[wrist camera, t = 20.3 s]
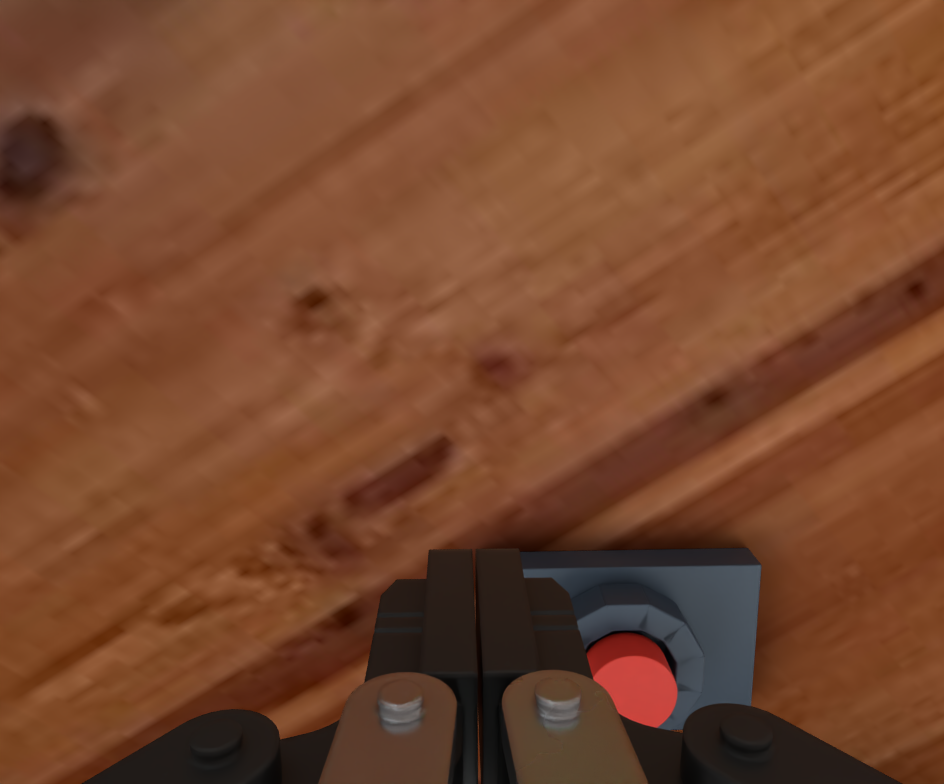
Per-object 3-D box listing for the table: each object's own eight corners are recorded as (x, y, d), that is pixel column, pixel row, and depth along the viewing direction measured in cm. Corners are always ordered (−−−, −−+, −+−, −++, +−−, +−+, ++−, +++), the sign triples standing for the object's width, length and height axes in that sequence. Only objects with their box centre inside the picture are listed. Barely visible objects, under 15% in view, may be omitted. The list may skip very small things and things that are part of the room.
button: (580, 709, 33) (585, 736, 31) (581, 632, 32) (587, 656, 30) (665, 707, 33) (676, 734, 31) (668, 631, 32) (679, 655, 30)
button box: (480, 709, 36) (481, 761, 33) (477, 552, 34) (478, 590, 31) (736, 705, 36) (764, 757, 33) (747, 547, 34) (778, 584, 31)
